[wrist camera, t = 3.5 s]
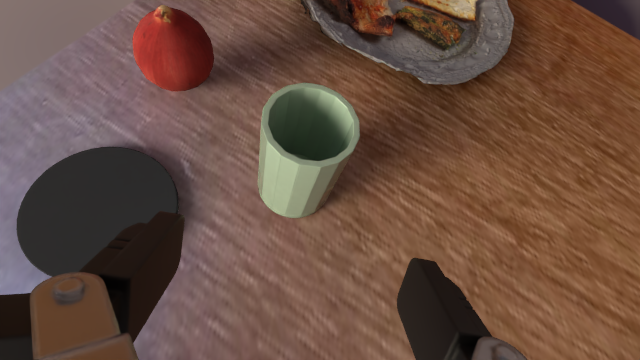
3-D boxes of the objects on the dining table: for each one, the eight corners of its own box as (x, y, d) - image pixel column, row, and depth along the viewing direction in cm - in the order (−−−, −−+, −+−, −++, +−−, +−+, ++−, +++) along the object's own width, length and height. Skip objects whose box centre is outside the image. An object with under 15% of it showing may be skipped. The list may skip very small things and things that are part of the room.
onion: (146, 60, 30) (114, -26, 23) (213, 57, 32) (202, -24, 25) (149, 114, 28) (115, 37, 21) (221, 108, 30) (212, 35, 22)
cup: (290, 232, 26) (309, 185, 18) (243, 179, 27) (240, 113, 19) (342, 189, 28) (378, 130, 20) (296, 141, 30) (314, 68, 22)
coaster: (70, 317, 21) (66, 317, 21) (-9, 202, 23) (-14, 199, 23) (206, 219, 25) (205, 216, 25) (130, 128, 27) (128, 124, 27)
